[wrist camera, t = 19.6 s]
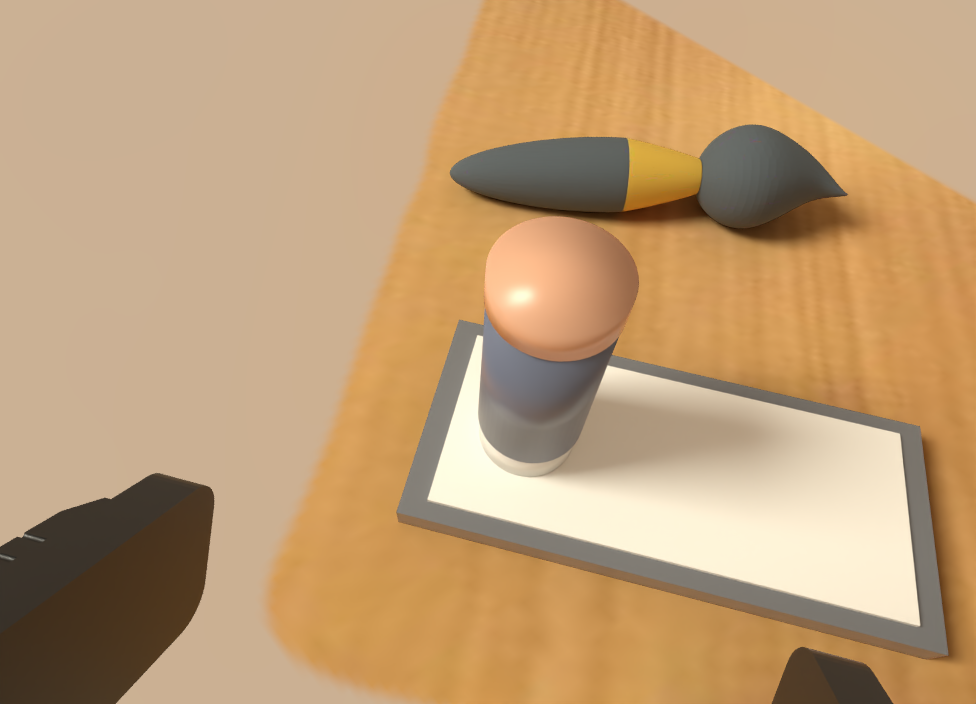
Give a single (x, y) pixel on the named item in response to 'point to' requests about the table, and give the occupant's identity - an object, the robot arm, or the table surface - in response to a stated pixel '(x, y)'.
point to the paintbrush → (654, 175)
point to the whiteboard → (704, 499)
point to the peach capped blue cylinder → (548, 337)
